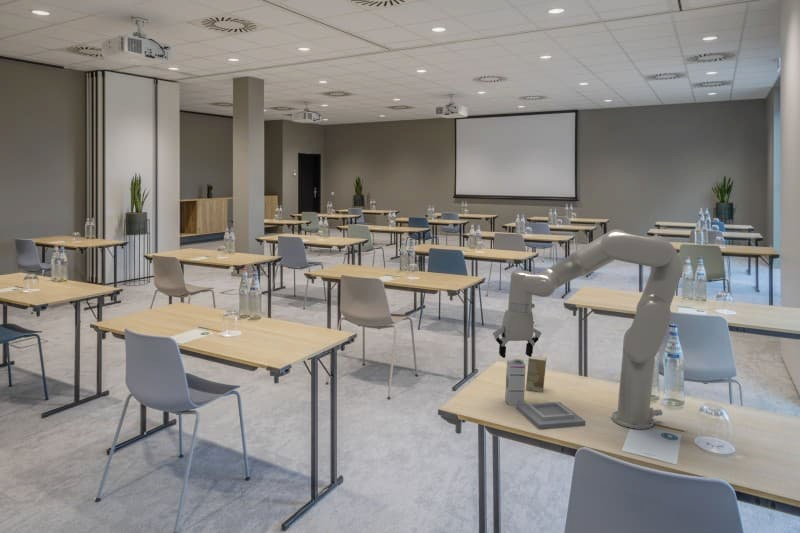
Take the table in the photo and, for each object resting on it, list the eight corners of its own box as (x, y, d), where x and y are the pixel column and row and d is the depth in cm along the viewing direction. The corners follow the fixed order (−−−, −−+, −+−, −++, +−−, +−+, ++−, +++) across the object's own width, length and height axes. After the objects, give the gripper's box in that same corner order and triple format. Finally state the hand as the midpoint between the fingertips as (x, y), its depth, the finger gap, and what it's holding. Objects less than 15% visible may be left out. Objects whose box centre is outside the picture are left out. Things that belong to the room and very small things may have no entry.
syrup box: (524, 405, 199) (526, 364, 196) (506, 404, 199) (509, 363, 196) (521, 399, 204) (523, 359, 202) (504, 398, 204) (506, 358, 202)
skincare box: (525, 390, 213) (527, 357, 211) (526, 386, 217) (528, 354, 215) (543, 392, 211) (545, 360, 209) (544, 388, 215) (546, 356, 213)
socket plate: (559, 405, 199) (560, 398, 199) (585, 425, 184) (585, 417, 183) (516, 409, 195) (516, 401, 195) (538, 429, 180) (539, 421, 179)
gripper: (537, 304, 202) (533, 352, 205) (491, 304, 198) (487, 353, 201) (548, 309, 195) (543, 358, 198) (500, 310, 191) (496, 360, 193)
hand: (515, 356), depth 199 cm, fingers open, 9 cm apart
